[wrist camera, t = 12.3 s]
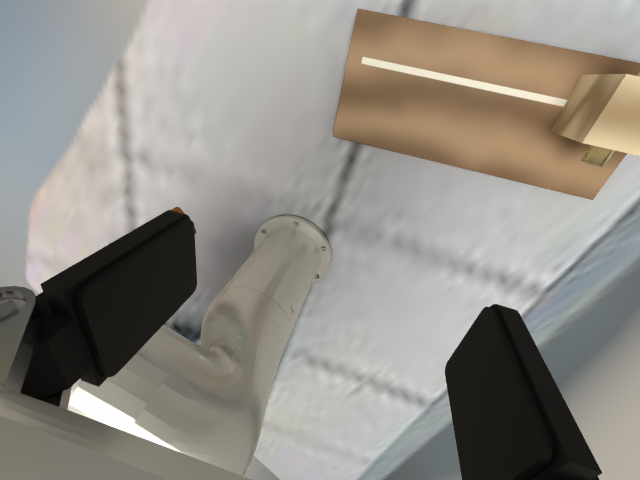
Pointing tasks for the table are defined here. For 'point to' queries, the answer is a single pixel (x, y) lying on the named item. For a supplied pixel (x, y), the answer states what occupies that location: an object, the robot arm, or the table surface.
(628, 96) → the marking gauge
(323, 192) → the table surface
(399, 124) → the board
